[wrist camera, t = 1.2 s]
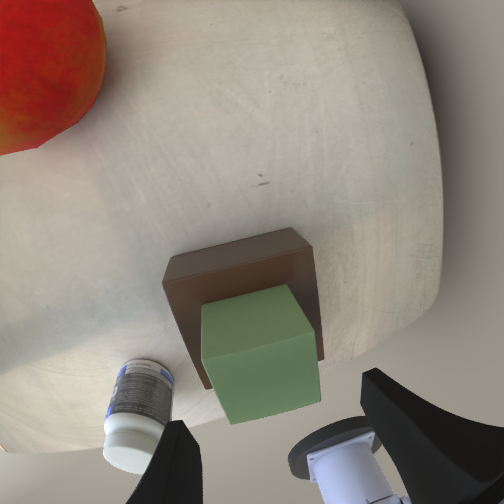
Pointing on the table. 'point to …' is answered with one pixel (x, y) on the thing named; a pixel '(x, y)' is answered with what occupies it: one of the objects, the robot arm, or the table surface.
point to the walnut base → (240, 282)
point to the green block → (260, 354)
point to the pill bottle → (137, 414)
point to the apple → (47, 68)
